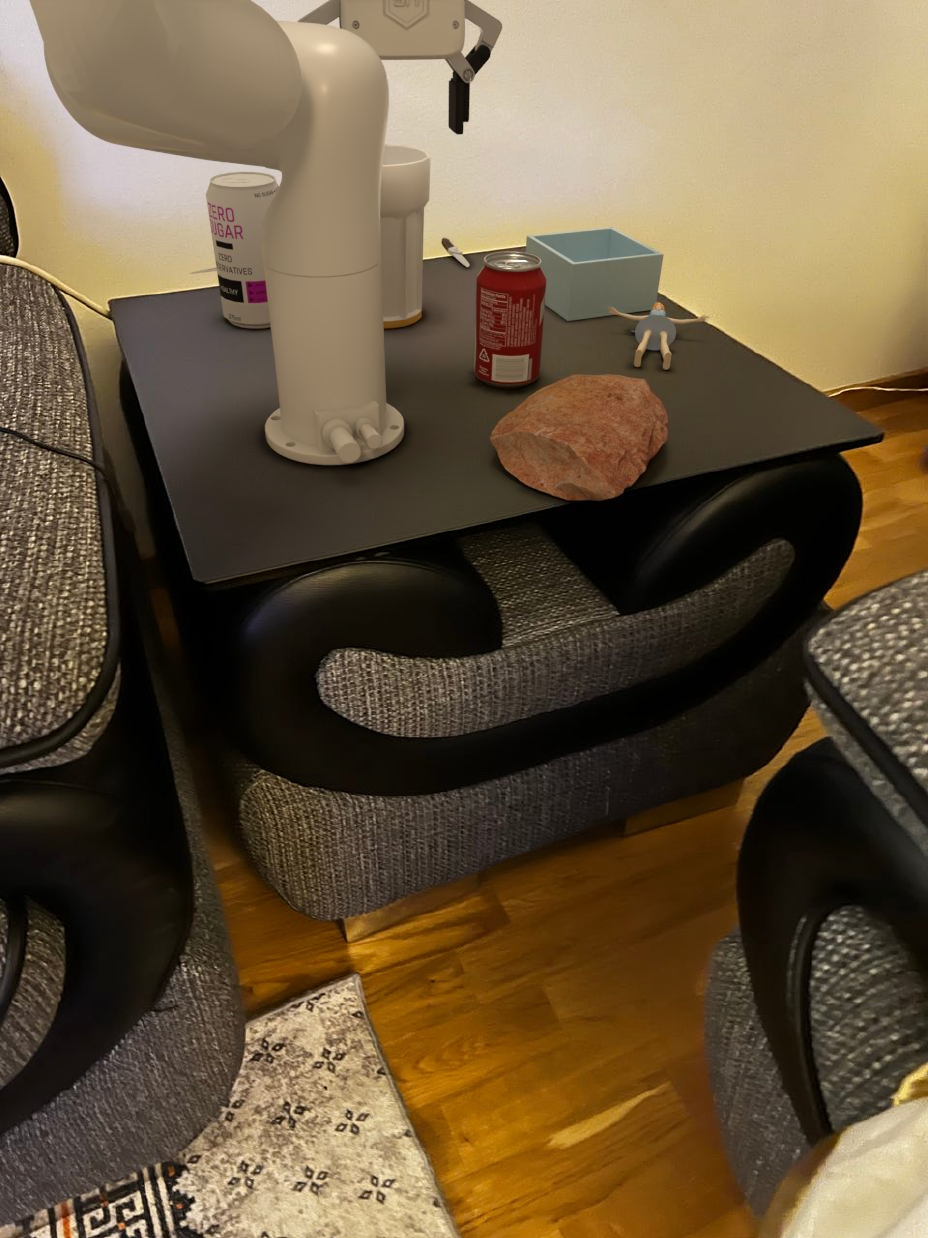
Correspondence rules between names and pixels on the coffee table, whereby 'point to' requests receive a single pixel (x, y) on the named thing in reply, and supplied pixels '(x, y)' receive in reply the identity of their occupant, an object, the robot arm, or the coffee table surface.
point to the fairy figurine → (655, 332)
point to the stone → (583, 436)
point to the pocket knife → (454, 251)
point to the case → (596, 272)
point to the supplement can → (241, 243)
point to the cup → (403, 232)
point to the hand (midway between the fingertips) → (403, 132)
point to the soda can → (509, 319)
